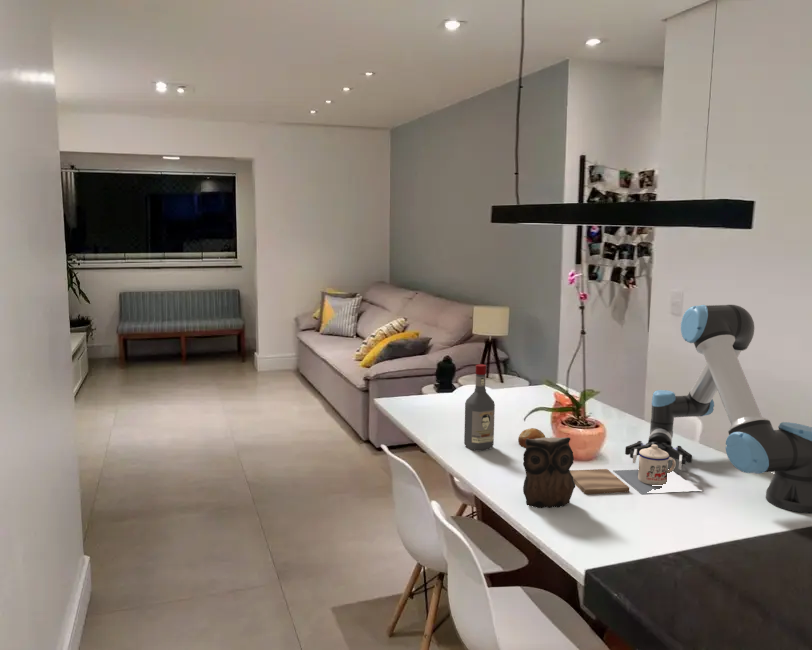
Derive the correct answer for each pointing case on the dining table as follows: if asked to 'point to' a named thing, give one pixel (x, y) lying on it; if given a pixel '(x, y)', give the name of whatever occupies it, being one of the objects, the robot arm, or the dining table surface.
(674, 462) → the teacup with lid
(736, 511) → the dining table surface
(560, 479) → the owl
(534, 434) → the bread roll
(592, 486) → the walnut board
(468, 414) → the liquor
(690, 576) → the dining table surface
